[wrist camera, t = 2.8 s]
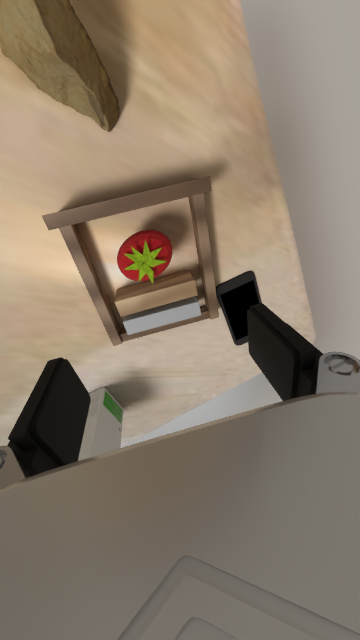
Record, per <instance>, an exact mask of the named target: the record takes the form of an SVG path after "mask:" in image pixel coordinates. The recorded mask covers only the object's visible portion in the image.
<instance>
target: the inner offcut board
mask: <svg viewBox="0 0 360 640" xmlns="http://www.w3.org/2000/svg"><path fill="white" fill-rule="evenodd" d="M197 295H198V294H197V289H196V283H195V279H194V278H193V277H192V275H191V274H190V272H189V271H188V270H187V271H183V272H179V273H176V274H172V275H168V276H165V277H161V278H157V279H154V280H153V284H152V282H151V280H150V281H146V282H143V283H139V284H135V285H132V286H128V287H124V288H121V289H117V291H116V297H115V305H116V307H117V309H118V312H119V314H120V317H122V316H126V315H129V314H133V313H136V312H140V311H143V310H147V309H151V308H154V307H158V306H161V305H165V304H168V303H172V302H176V301H179V300H183V299H186V298H190V297H193V296H197Z"/></svg>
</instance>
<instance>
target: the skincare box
mask: <svg viewBox="0 0 360 640" xmlns="http://www.w3.org/2000/svg"><path fill="white" fill-rule="evenodd" d="M89 395H90V398H91V402H90V407H89V411H88V416H87V421H86V425H85V430H84V435H83V439H82V444H81V449H80V453H79V458H78V461H80V460H83V459H87V458H90V457H93V456H97V455H100V454H103V453H107V452H110V451H113V450H116V449H120V444H121V432H122V420H123V408H122V406H121V405H120V404H119V403H118V402H117V401H116V400H115V398H114V397H113V396H112V395H111V394H110V393H109V392H108V391H107V389H106V388H105V387H103V388H100V389H98V390H96V391H94V392H91V393H89Z"/></svg>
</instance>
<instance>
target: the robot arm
mask: <svg viewBox="0 0 360 640" xmlns="http://www.w3.org/2000/svg"><path fill="white" fill-rule="evenodd" d="M247 323H248V344H249V353H250V355H251V357H252V358H253V360H254V361H255V362H256V364H257V365H258V367H259V368H260V369H261V371H262V372H263V374H264V375H265V376H266V378H267V379H268V380H269V382H270V383H271V385H272V386H273V388H274V389H275V390H276V392H277V393H278V395H279V396H280V397H281V399H282V400H283V401H282V402H278V403H275V404H271V405H267V406H264V407H260V408H256V409H253V410H249V411H246V412H242V413H239V414H235V415H232V416H229V417H225V418H222V419H218V420H215V421H211V422H208V423H205V424H201V425H197V426H194V427H191V428H187V429H184V430H181V431H177V432H174V433H170V434H167V435H164V436H160V437H157V438H153V439H150V440H147V441H143V442H140V443H137V444H133V445H130V446H126V447H123V448H120V449H116V450H113V451H110V452H107V453H103V454H100V455H97V456H93V457H90V458H87V459H83V460H80V461H78V458H79V453H80V449H81V444H82V439H83V435H84V430H85V425H86V421H87V416H88V411H89V407H90V402H91V398H90V395H89V393H88V391H87V390H86V388H85V387H84V385H83V383H82V382H81V380H80V379H79V377H78V375H77V374H76V372H75V371H74V369H73V367H72V366H71V364H70V363H69V361H68V360H67V359H63V358H57V359H53V360H50V361H48V362H47V364H46V366H45V368H44V370H43V372H42V374H41V376H40V378H39V380H38V381H37V383H36V385H35V387H34V389H33V391H32V393H31V395H30V397H29V399H28V401H27V403H26V405H25V406H24V408H23V410H22V412H21V414H20V416H19V418H18V420H17V422H16V424H15V426H14V428H13V430H12V431H11V433H10V435H9V437H8V439H9V440H10V442H9V444H8V446H0V640H360V360H359V359H357V358H356V357H354V356H352V355H349V354H346V353H342V352H328V353H325V354H323V353H321V352H320V351H319V350H318V349H317V348H315V347H314V346H313V345H312V344H311V343H310V342H308V341H307V340H306V339H305V338H304V337H303V336H301V335H300V334H299V333H298V332H297V331H295V330H294V329H293V328H292V327H291V326H290V325H288V324H287V323H285V322H284V321H282V320H281V319H280V318H279V317H278V316H277V315H275V314H274V313H273V312H272V311H271V310H270V309H268V308H267V307H266V306H265V305H264V304H262V303H260V304H257V305H253V306H251V307H250V309H249V310H247Z"/></svg>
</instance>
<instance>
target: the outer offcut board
mask: <svg viewBox="0 0 360 640" xmlns="http://www.w3.org/2000/svg"><path fill="white" fill-rule="evenodd" d="M200 315H201V311H200V306H199V301H198V299H197V298H196V296H193V297H190V298H186V299H183V300H179V301H176V302H172V303H168V304H165V305H161V306H158V307H154V308H151V309H147V310H143V311H140V312H136V313H133V314H129V315H126V316H123V324H124V327H125V329H126V332H127V334H128V335H130V334H134V333H138V332H141V331H145V330H149V329H152V328H156V327H160V326H163V325H167V324H171V323H174V322H178V321H182V320H186V319H189V318H193V317H197V316H200Z"/></svg>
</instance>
